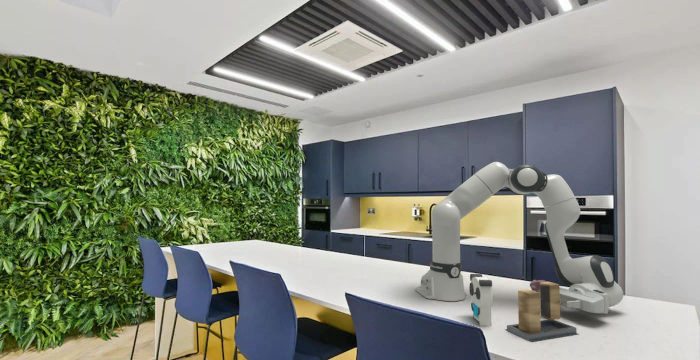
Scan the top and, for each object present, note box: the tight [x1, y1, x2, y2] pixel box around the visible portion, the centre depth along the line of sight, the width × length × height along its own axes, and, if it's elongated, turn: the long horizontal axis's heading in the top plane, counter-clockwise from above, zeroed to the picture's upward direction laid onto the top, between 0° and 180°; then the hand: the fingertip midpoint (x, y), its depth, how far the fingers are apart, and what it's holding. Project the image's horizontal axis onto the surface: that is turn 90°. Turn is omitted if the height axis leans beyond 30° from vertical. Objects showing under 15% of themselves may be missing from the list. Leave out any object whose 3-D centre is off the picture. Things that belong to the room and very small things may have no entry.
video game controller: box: [529, 279, 548, 293], centre depth 150 cm, size 10×5×7 cm, turn 48°
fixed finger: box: [517, 288, 541, 333], centre depth 102 cm, size 4×4×12 cm
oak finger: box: [540, 281, 561, 320], centre depth 116 cm, size 4×4×12 cm
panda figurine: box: [469, 273, 494, 327], centre depth 112 cm, size 12×11×15 cm
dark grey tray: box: [504, 319, 580, 343], centre depth 103 cm, size 10×18×2 cm, turn 110°
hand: (553, 300), depth 117 cm, fingers open, 8 cm apart
